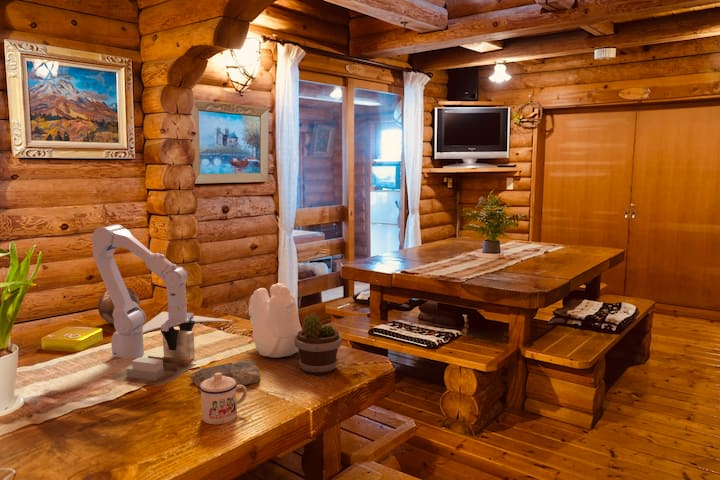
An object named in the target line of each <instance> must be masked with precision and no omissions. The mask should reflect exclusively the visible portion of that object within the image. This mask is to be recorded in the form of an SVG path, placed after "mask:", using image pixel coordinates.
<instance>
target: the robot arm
mask: <svg viewBox="0 0 720 480" xmlns="http://www.w3.org/2000/svg"><path fill="white" fill-rule="evenodd" d="M90 240H91V241H90V242H91V243H92V259H93V261H94V262H95V265H96V267H97V269H98V273H99V274H100V277H101V278H102V281H103V283H104V286H105V288H106V291H107V290H108V293H109V295H110V297H111V300H112V302H113V304H114V306H115V308H114V311H113V314H112V316H113V318H114V325H113V327H114V329H115V332H113V334H112V336H111V341H110V343H111V357H110V360H112V359H114V358H121V359H124V360H130V359H131V360H132V359H133V360H134V359H137V358H139V357H144V354H145V348H144V333H143V325H145V324H146V320H147V317H146V316H147V315H146V313H145V312H144V310H143V309H141V307H140V308H139V306H138V304H137V303H136V302H134V301H132V300H131V298H130V295H129V293H128V291H127V288H128V287H127V286H126V284H125V281H124V279H123V277H122V275H121V272H120V270H119V267H118V265H117V262H116V260H115V258H114V256H113V255H114V254H115V252H116V250H117V249H118V248H125V249H127V250H128V251H130V252H131V253H132V254H134V255H136V257H138V258H140V259H141V260H142V261H144V262H145V266H146V268H147V269H149V270H150V271H151V272H153V273H154V274H155V275H156V276H158V277H159V278H160V279H162V282H163V285H164V286H165V287H166V296H167V312H168V318H169V319H168V320H167V321H166V322H165V323H164V324H162V325H161V328H160V333H161V334H162V337H163V336H164V337H165V339H166V341H167V344H168V347H169V350H176V346H177V335H178V332H179V330H183V331H192V330H193V328H194V326H195V324H196V323H195V321H192V320H191V319H194V316H195V315H194V313H193V312H188V311H187V309H188V308H187V288H186V286H187V285H186V282H187V281H188V279H189V273H188V271H187V270H186V269H185V268H184V267H183V266H177V264H176V263H172V262H171V261H170V260H168V259H167V258H166V255H165V254H164V253H159V252H155V253H153V252H152V251H151V250H150V249H148V247H146V246H145V245H144V244H143V243H141V242H140V240H138V239H137V238H135V236H134V235H132V233H131V231H130V230H129V229H127V228H125V227H124V226H123V225H121V224H118V223H116V224H115V223H114V224H111V225H108V226H101V227H98V228H96V229H95V230H94V231H93V233H92V234H91V237H90ZM193 315H194V316H193ZM175 327H178V329H175ZM192 332H193V331H192Z"/></svg>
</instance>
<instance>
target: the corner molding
mask: <svg viewBox="0 0 720 480" xmlns="http://www.w3.org/2000/svg"><path fill="white" fill-rule="evenodd" d="M193 316H194V319H191V320H192V321H195V324H196V323H210V322H211V323H214V322H216V323H217V322H233V320H232V319H223V318H215V317H207V316H202V315H194V314H193ZM168 319H169V318H168V311H161V312H160V313H158V314H157V315H156V316H154V317H153V318H151V319H150V320H149V321H147V322H145V323H144V324H143V334H146V333H149V332H151V331H155V330H161V325H162V324H164V323H165V322H166V321H167V320H168Z"/></svg>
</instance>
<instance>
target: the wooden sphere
mask: <svg viewBox="0 0 720 480" xmlns="http://www.w3.org/2000/svg"><path fill="white" fill-rule="evenodd" d="M126 288H127V291H128V293H129V295H130V298H131V300H132V301H134V302H136V303H137V304H138V306H139V308H140V309H141V307H140V306H141V305H140V299H139V296H138V295H137V294H136V292H135V291H134V290H133V289H131V288H130V287H129V288H128V287H126ZM97 307H98V308H97V309H98V313H99V315H100V317H101V318H102V320H104V322H106V323H108V324H110V325H113V326H114V318H113V316H112V314H113V311H114V308H115V306H114V304H113V302H112V300H111V297H110V295H109V293H108V290H107V289H106V290H105V291H104V293H102V295H101V296H100V298H99V300H98V304H97Z"/></svg>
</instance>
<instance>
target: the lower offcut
mask: <svg viewBox="0 0 720 480" xmlns="http://www.w3.org/2000/svg"><path fill="white" fill-rule="evenodd" d="M125 370H126V372H127V377H133V378H140V379H147V380H154V381H156V380H157V379H159V378H161V377H163V376H164V368H162V369H160V370H158V371H157V372H150V371H143V370H135V369H132V365H131V366H128V367H127V368H126V369H125Z"/></svg>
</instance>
